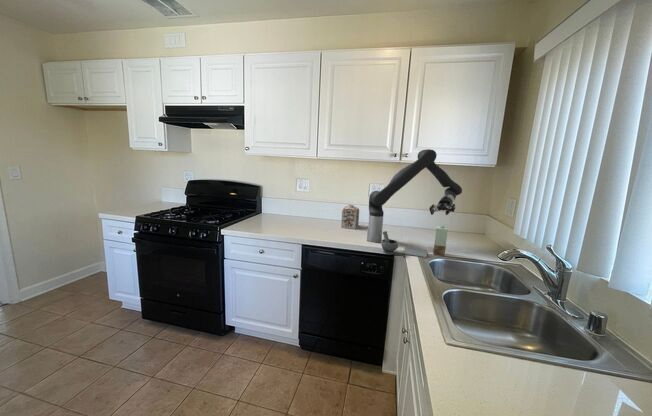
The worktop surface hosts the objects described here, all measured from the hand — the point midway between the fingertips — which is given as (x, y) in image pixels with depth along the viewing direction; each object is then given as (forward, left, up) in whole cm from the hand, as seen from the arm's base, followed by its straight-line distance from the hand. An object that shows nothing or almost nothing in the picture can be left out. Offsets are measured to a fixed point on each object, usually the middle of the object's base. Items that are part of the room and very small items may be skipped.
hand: (438, 213), depth 163 cm
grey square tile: (-11, -10, -23) cm, 27 cm away
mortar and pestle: (-26, -17, -23) cm, 39 cm away
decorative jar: (-63, +30, -23) cm, 73 cm away
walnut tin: (+2, -6, -23) cm, 24 cm away
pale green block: (+2, -6, -17) cm, 18 cm away
